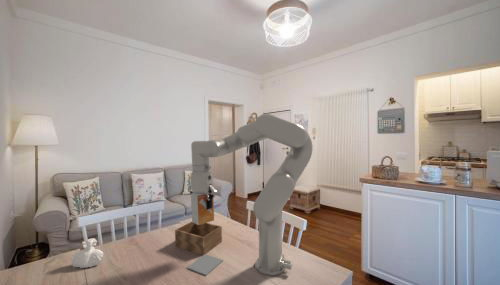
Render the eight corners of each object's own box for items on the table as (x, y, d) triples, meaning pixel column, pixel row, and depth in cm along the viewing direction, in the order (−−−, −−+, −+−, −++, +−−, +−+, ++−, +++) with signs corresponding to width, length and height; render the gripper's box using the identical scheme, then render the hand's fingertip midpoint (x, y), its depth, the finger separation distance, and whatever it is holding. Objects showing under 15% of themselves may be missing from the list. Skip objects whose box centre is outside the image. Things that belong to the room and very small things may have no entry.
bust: (104, 267, 92) (111, 239, 99) (96, 265, 86) (104, 235, 93) (73, 270, 91) (83, 241, 97) (63, 268, 84) (74, 237, 91)
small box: (198, 225, 91) (197, 195, 91) (191, 221, 96) (190, 193, 96) (214, 220, 97) (213, 191, 97) (207, 217, 102) (206, 189, 101)
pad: (222, 261, 92) (222, 260, 92) (206, 275, 83) (206, 274, 83) (205, 255, 97) (205, 254, 97) (187, 268, 88) (187, 267, 88)
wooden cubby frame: (221, 241, 109) (221, 226, 109) (203, 255, 97) (203, 238, 97) (195, 234, 118) (195, 220, 118) (175, 245, 106) (175, 229, 105)
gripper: (221, 167, 95) (223, 207, 95) (193, 166, 104) (194, 202, 104) (210, 170, 88) (211, 212, 89) (181, 168, 97) (182, 207, 98)
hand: (202, 207), depth 96 cm, fingers closed on small box, 7 cm apart
